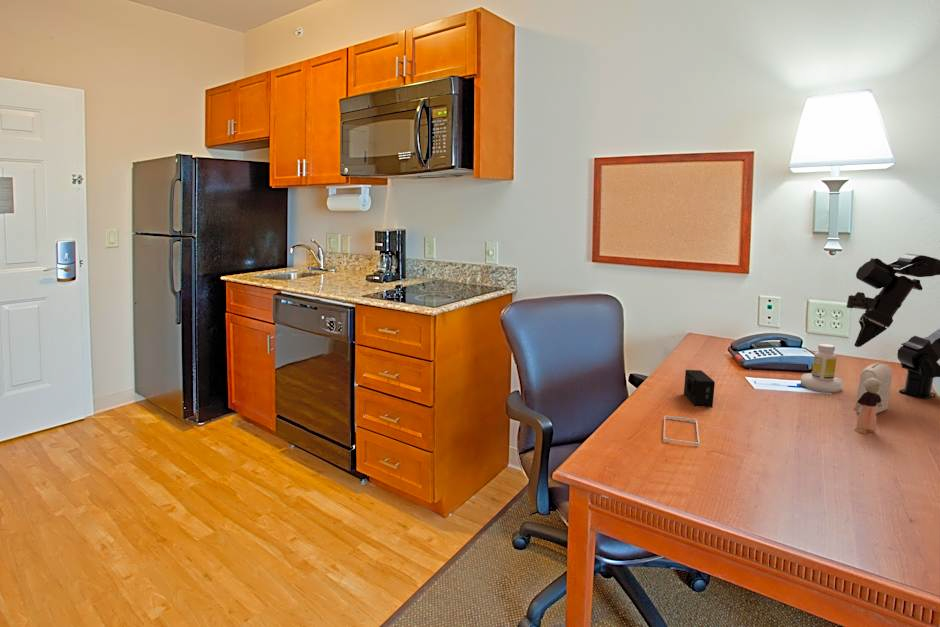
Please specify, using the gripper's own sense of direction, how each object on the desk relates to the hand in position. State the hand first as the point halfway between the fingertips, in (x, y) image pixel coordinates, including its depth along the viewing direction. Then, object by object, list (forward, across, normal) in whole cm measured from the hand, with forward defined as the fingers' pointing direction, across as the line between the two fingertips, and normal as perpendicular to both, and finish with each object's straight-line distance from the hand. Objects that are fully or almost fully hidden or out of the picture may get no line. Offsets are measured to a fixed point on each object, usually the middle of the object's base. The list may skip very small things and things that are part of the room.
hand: (857, 346), depth 156 cm
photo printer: (+14, +12, +10) cm, 21 cm away
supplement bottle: (+12, -3, -2) cm, 13 cm away
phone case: (+38, +52, -20) cm, 67 cm away
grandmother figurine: (+18, +28, +10) cm, 35 cm away
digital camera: (+33, +28, -24) cm, 49 cm away
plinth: (+14, -3, -2) cm, 15 cm away
